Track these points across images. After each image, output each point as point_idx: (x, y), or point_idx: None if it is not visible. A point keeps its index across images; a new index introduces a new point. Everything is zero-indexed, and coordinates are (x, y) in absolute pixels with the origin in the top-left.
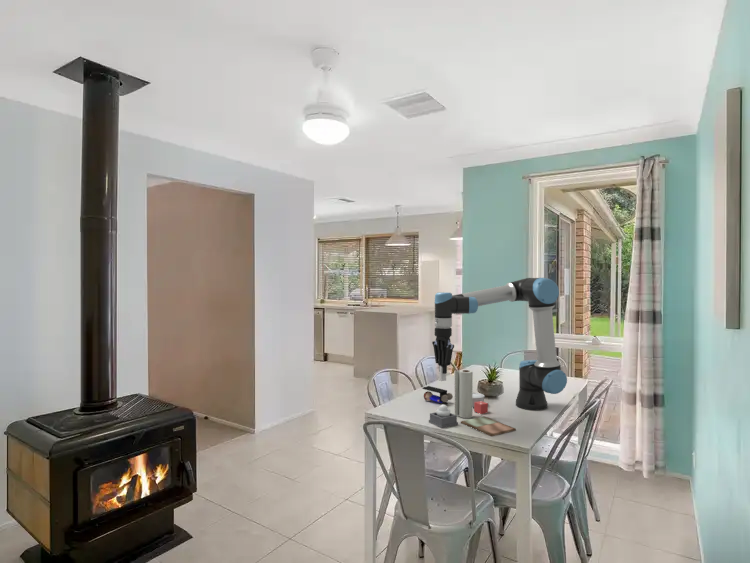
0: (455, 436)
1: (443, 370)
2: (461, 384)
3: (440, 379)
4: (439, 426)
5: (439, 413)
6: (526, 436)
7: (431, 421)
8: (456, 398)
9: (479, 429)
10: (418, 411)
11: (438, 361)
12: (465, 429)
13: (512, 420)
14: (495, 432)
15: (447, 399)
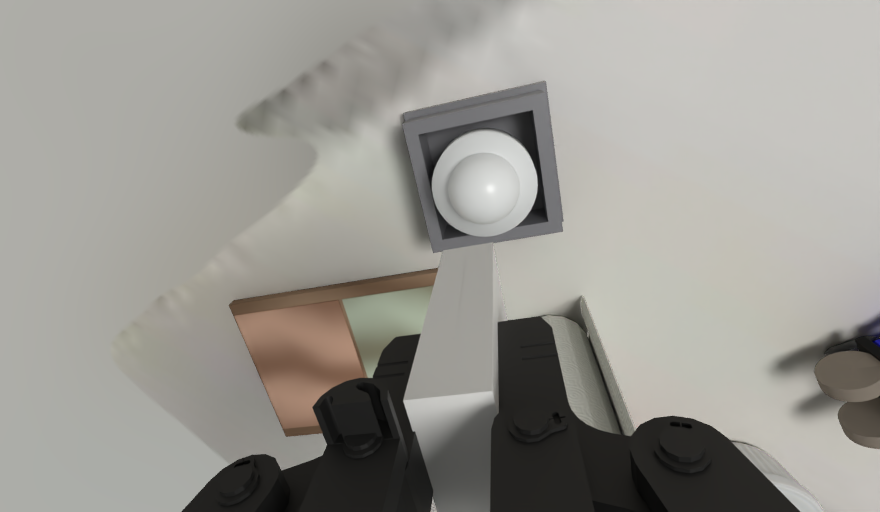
0: (257, 128)
1: (401, 371)
2: None
3: (461, 254)
4: (424, 108)
5: (458, 138)
6: (215, 423)
7: (511, 89)
8: (605, 372)
9: (306, 292)
10: (808, 114)
11: (564, 489)
12: (352, 237)
13: None
14: (246, 334)
15: (818, 380)
